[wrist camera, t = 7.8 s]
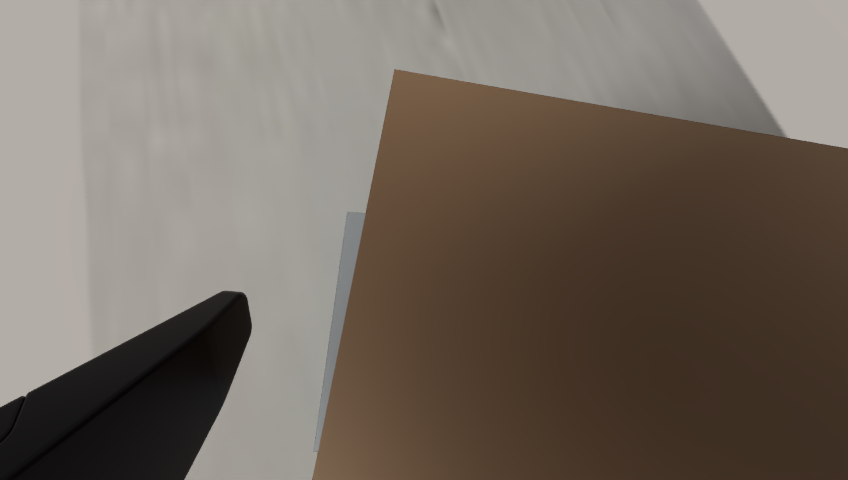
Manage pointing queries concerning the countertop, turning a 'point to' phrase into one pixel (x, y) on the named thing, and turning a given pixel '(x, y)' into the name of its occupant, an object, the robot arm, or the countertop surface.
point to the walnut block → (590, 298)
